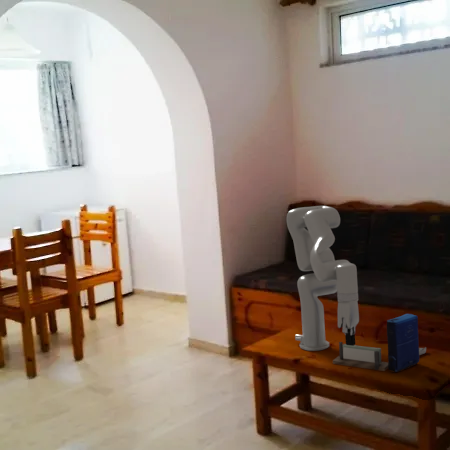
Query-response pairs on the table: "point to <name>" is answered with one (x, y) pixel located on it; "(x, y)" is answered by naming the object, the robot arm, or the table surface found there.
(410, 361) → the book
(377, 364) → the gate frame
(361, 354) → the panel
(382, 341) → the table surface
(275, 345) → the table surface
